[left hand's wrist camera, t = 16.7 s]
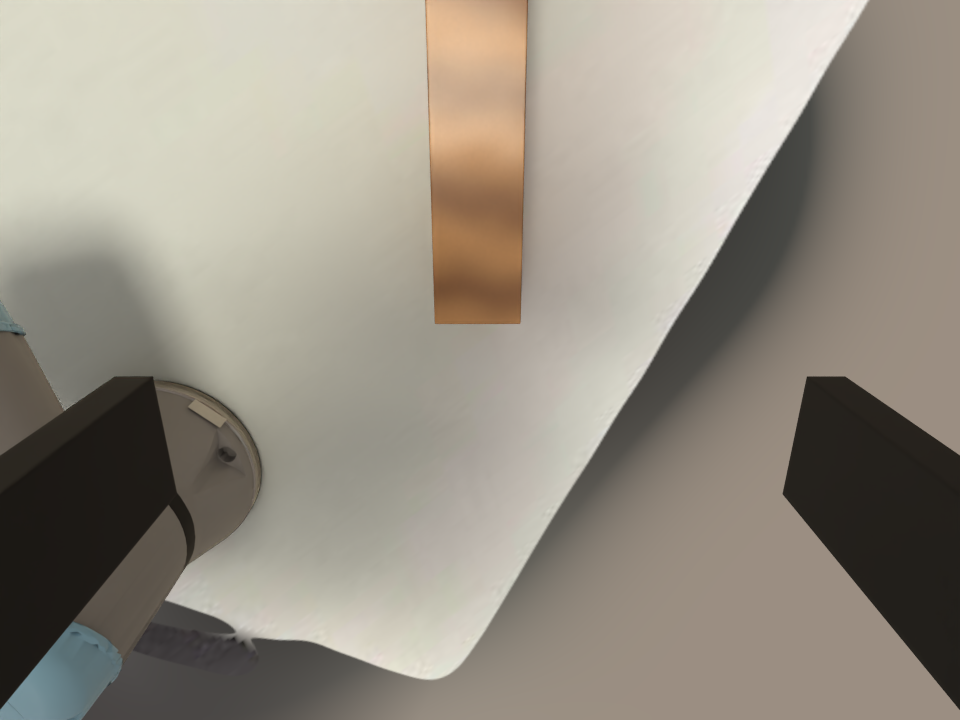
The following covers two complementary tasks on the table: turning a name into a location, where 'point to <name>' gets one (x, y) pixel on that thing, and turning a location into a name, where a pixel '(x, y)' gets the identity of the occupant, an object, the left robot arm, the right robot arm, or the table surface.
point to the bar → (477, 157)
